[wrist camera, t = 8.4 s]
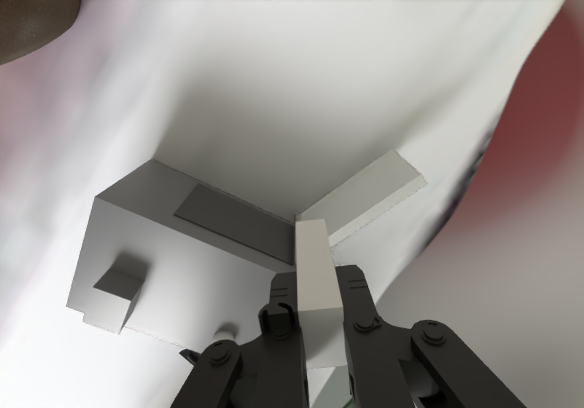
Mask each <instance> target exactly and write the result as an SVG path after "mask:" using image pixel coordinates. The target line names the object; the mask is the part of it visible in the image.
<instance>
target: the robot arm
mask: <svg viewBox="0 0 584 408" xmlns="http://www.w3.org/2000/svg"><path fill="white" fill-rule="evenodd" d="M296 251H297V271H296V272H286V273H276V275H275V276H274V278H273V279H272V281H271V287H270V298H269V303H268V304H266V305H264V307H263V308H262V309H261V310H260V311H259V314H258V319H259V323H260V328H261V333H262V334H261V335H260V336H258V337H257V338H256V339H254V340H252V341H250V342H247V343H245V344H242V345H238V344H237V343H236V342H235V341H232V340H229V339H225V340H219V341H216V342H214V343H212V344H211V345H209V346H208V347H207V348H206V349H205V350H204V351H203V352H202V354H201V356H200V357H199V359H198V361H197V362H196V364H195V366H194V367H193V369H192V371H191V373H190V374H189V376H188V378H187V379H186V381H185V383H184V384H183V386H182V388H181V390H180V391H179V393H178V395H177V396H176V398H175V400H174V402H173V403H172V405H171V407H170V408H309V392H308V380H307V372H306V369H313V368H325V367H336V366H347V364H348V370H349V383H350V394H351V395H352V398H353V404H354V408H415V405H414V403H415V404H416V406H417V407H418V408H527V407H526V406H525V405H524V404H523V403H522V402H521V401H520V400H519V399H518V398H517V397H516V396H515V395H514V394H513V393H512V392H511V391H510V390H509V389H508V388H507V387H506V386H505V385H504V384H503V382H502V381H501V380H500V379H499V378H497V376H496V375H495V374H494V373H493V372H492V371H491V370H490V369H489V368H488V367H487V366H486V365H485V364H484V363H483V362H482V361H481V360H480V359H479V358H478V356H477V355H476V354H475V353H474V352H473V351H472V350H471V349H470V348H469V347H468V346H467V345H466V344H465V343H464V342H463V341H462V340H461V339H460V338H459V337H458V336H457V335H456V334H455V333H454V332H453V331H452V330H451V329H450V328H449V327H448V326H446V325H445V324H443V323H440V322H438V321H433V320H423V321H419V322H417V323H415V324H414V325H413V327H412V328H411V329H407V328H401V327H396V326H393V325H390V324H388V323H387V322H385V321H384V320H383V319H382V318H381V317H380V316H379V315H378V313H377V311H376V308H375V305H374V302H373V299H372V296H371V294H370V291H369V288H368V285H367V282H366V279H365V276H364V274H363V271H362V270H361V269H360V268H359V267H358V266H356V265H347V266H337V267H334V262H333V257H332V253H331V248H330V243H329V238H328V234H327V229H326V224H325V220H324V219H318V220H309V221H300V222H296ZM412 399H413V400H412ZM413 401H414V402H413Z"/></svg>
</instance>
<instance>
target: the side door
mask: <svg viewBox="0 0 584 408" xmlns="http://www.w3.org/2000/svg"><path fill="white" fill-rule="evenodd" d="M426 184H428V183H427V182H426V180H425V179H424V177H423V176H422V174H421V173H419V172H418V171H417V170H416V169H415V168H414V167H413V166H412V165H410V164H409V163H408V162H407V161H406V160H405V159H404V158H402V157H401V156H400V155H399V154H398V153H397V152H396V151H395V150H393V149H392V148H391V149H390V150H388V151H387V152H386V153H384V154H383V155H381V156H380V157H379V158H377V159H376V160H374V161H373V162H372V163H370V164H369V165H368V166H366V167H365V168H363V169H362V170H361V171H359V172H358V173H356V174H355V175H354V176H352V177H351V178H350V179H348V180H347V181H345V182H344V183H343V184H341V185H340V186H338V187H337V188H336V189H334V190H333V191H332V192H330V193H329V194H327V195H326V196H325V197H323V198H322V199H320V200H319V201H318V202H316V203H315V204H314V205H312V206H311V207H309V208H308V209H307V210H305V211H304V212H302V213H298V214H297V215H296V216H295V263H296V264H297V251H296V222H300V221H309V220H318V219H324V220H325V224H326V229H327V234H328V238H329V243H330V248H331V247H333V246H334V245H336V244H337V243H339V242H340V241H342V240H343V239H345V238H346V237H348V236H349V235H351V234H352V233H354V232H355V231H357V230H358V229H360V228H361V227H363V226H364V225H366V224H368V223H369V222H371V221H372V220H374V219H375V218H377V217H378V216H380V215H381V214H383V213H384V212H386V211H387V210H389V209H390V208H392V207H393V206H395V205H396V204H398V203H399V202H401V201H402V200H404V199H405V198H407V197H408V196H410V195H411V194H413V193H414V192H416V191H417V190H419V189H420V188H422V187H423V186H425V185H426Z"/></svg>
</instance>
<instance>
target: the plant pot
mask: <svg viewBox="0 0 584 408" xmlns="http://www.w3.org/2000/svg"><path fill="white" fill-rule="evenodd" d="M79 4H80V0H0V65H3V64H5V63H8V62H11V61H13V60H15V59H18V58H20V57H22V56H25V55H27V54H29V53H31V52H33V51H35V50H37V49H39V48H41V47H43V46H44V45H46V44H48V43H49V42H51V41H53V40H54V39H56V38H57V37H59V36H60V35H62V34H63V33H64V32H65V31H67V30H68V29H69V28H70V27H71V26H72V25H73V23H74V22H75V20H76V18H77V15H78V12H79Z"/></svg>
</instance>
